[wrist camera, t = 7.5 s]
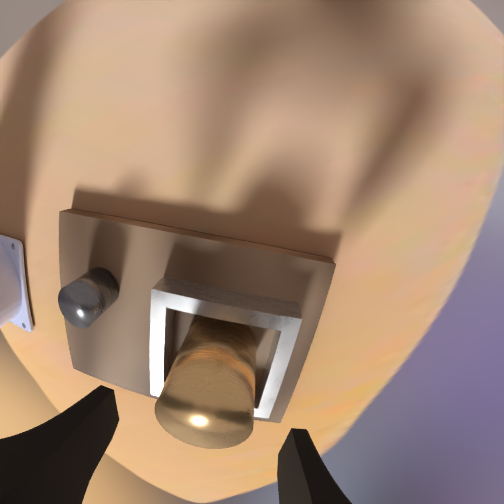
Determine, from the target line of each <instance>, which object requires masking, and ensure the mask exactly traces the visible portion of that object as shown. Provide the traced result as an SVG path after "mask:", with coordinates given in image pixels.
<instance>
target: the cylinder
mask: <svg viewBox="0 0 504 504" xmlns="http://www.w3.org/2000/svg"><path fill="white" fill-rule="evenodd" d="M256 350H257V342H256V337H255V335H254V333H253V331H252V329H251V328H250V327H249V326H248V325H245V324H240V323H235V322H230V321H225V320H220V319H215V318H210V317H206V316H202V317H200V318H198V319H197V320H196V321H195V322H194V323H193V324H192V325H191V326H190V328H189V330H188V332H187V335H186V337H185V339H184V341H183V343H182V346H181V348H180V350H179V352H178V354H177V357H176V359H175V361H174V363H173V365H172V368H171V370H170V372H169V374H168V377H167V379H166V381H165V383H164V386H163V388H162V390H161V392H160V395H159V397H158V399H157V402H156V404H155V415H156V418H157V420H158V422H159V423H160V425H161V426H162V427H163V428H164V429H165V430H166V431H167V432H168V433H169V434H171V435H172V436H173V437H175V438H177V439H179V440H180V441H183V442H185V443H187V444H190V445H193V446H197V447H201V448H208V449H222V448H229V447H233V446H236V445H238V444H240V443H242V442H244V441H245V440H246V439H247V438H248V437H249V436H250V435H251V433H252V430H253V423H254V400H255V375H256Z"/></svg>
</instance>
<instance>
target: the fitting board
mask: <svg viewBox="0 0 504 504" xmlns="http://www.w3.org/2000/svg"><path fill="white" fill-rule="evenodd" d="M59 263H60V281H61V290H60V292H59V295H58V303H59V307H60V310H61V312H62V314H63V316H64V319H65V326H66V332H67V338H68V344H69V349H70V355H71V359H72V364H73V368H74V369H76V370H78V371H81V372H83V373H85V374H88V375H90V376H92V377H95V378H97V379H100V380H102V381H105V382H108V383H110V384H113V385H116V386H118V387H121V388H124V389H127V390H130V391H133V392H136V393H139V394H142V395H145V396H148V397H152V398H155V399H158V397H159V395H160V392H161V390H162V388H163V386H164V383H165V381H166V379H167V377H168V374H169V372H170V370H171V368H172V365H173V363H174V361H175V359H176V357H177V354H178V352H179V350H180V348H181V346H182V343H183V341H184V339H185V337H186V335H187V332H188V330H189V328H190V326H191V325H192V324H193V323H194V322H195V321H196V320H197V319H198V318H200V317H202V316H206V317H210V318H215V319H220V320H225V321H230V322H235V323H240V324H245V325H248V326H249V327H250V328H251V329H252V331H253V333H254V335H255V337H256V342H257V350H256V375H255V400H254V420H259V421H267V422H276V423H281V420H282V418H283V416H284V413H285V411H286V409H287V406H288V404H289V401H290V399H291V396H292V394H293V391H294V389H295V386H296V384H297V381H298V379H299V376H300V373H301V371H302V368H303V365H304V363H305V360H306V357H307V354H308V351H309V349H310V346H311V343H312V340H313V337H314V334H315V331H316V328H317V325H318V322H319V319H320V316H321V313H322V310H323V307H324V303H325V300H326V297H327V294H328V290H329V287H330V284H331V280H332V277H333V273H334V270H335V266H336V264H335V263H334V261H333V260H332V259H331V258H329V257H324V256H319V255H314V254H309V253H304V252H299V251H294V250H289V249H284V248H279V247H274V246H268V245H263V244H258V243H253V242H248V241H243V240H238V239H232V238H227V237H222V236H217V235H212V234H206V233H201V232H196V231H191V230H185V229H180V228H175V227H169V226H164V225H159V224H153V223H148V222H142V221H137V220H131V219H126V218H120V217H115V216H109V215H104V214H98V213H93V212H87V211H81V210H76V209H67V210H63V211H60V213H59Z"/></svg>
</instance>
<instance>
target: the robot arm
mask: <svg viewBox="0 0 504 504" xmlns="http://www.w3.org/2000/svg"><path fill="white" fill-rule="evenodd" d="M9 321H10V322H12V323H13V324H15V325H17V326H19V327H21V328H22V329H24V330H26V331H28V332H32V331H33V323H32V318H31V312H30V306H29V300H28V293H27V286H26V278H25V268H24V255H23V245H22V243H21V241H20V240H17V239H14V238H11V237H7V236H4V235H1V234H0V328H1V327H2V326H4V325H5V324H7V323H8V322H9ZM118 422H119V416H118V411H117V405H116V400H115V394H114V390H113V389H110V388H107V387H105V386H102V385H100V386H99V387H97V388H96V389H95V390H93V391H92V392H91V393H89V394H88V395H87V396H85V397H84V398H82V399H81V400H80V401H78V402H77V403H75V404H74V405H73V406H71V407H70V408H68V409H67V410H65V411H64V412H62V413H60V414H59V415H57V416H55V417H54V418H52V419H50V420H48V421H47V422H45V423H43V424H41V425H39V426H37V427H35V428H32V429H30V430H28V431H25V432H22V433H20V434H17V435H14V436H11V437H7V438H3V439H0V504H82V501H83V498H84V495H85V492H86V489H87V486H88V484H89V481H90V479H91V477H92V475H93V473H94V471H95V469H96V467H97V465H98V463H99V461H100V460H101V458H102V456H103V454H104V453H105V451H106V449H107V447H108V445H109V443H110V441H111V440H112V437H113V435H114V432H115V430H116V427H117V424H118ZM277 478H278V491H279V502H280V504H352V503H351V502H350V501H349V500H348V498H347V497H346V496H345V495H344V494H343V492H342V491H341V489H340V488H339V486H338V485H337V484H336V482H335V481H334V479H333V478H332V476H331V475H330V473H329V471H328V470H327V468H326V466H325V465H324V463H323V461H322V459H321V457H320V455H319V453H318V452H317V450H316V448H315V446H314V444H313V441H312V439H311V437H310V435H309V433H308V431H307V430H306V429H294V428H291V430H290V432H289V434H288V436H287V438H286V440H285V442H284V444H283V446H282V448H281V450H280V452H279V454H278V470H277Z"/></svg>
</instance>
